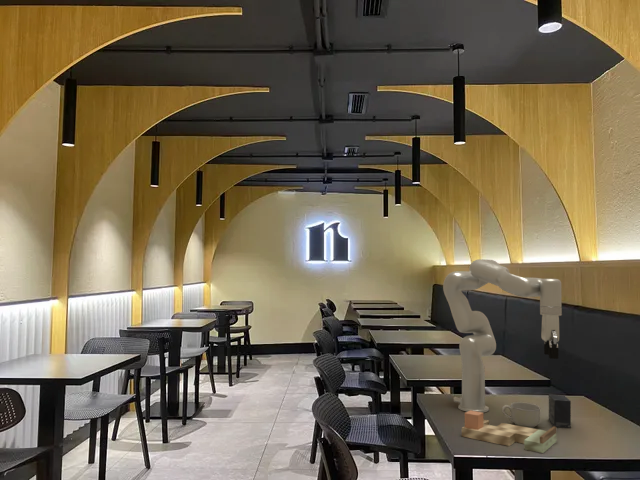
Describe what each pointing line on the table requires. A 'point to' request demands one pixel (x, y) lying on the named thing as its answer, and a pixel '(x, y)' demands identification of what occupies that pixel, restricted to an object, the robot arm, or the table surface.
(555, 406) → the small box
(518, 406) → the teacup
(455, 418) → the table surface
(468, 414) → the block
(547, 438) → the board
